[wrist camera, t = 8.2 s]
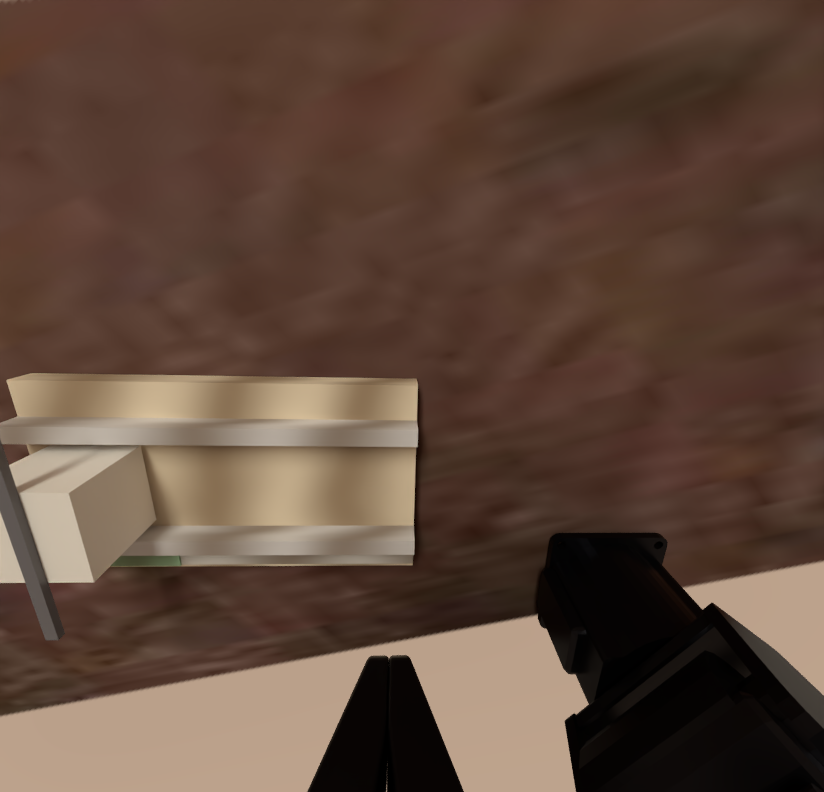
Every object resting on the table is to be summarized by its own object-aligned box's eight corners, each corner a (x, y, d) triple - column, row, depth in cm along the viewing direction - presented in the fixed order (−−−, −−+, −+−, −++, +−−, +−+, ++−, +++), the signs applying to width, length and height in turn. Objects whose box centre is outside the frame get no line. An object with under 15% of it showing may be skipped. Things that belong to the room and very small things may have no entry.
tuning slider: (129, 391, 17) (41, 429, 13) (165, 562, 19) (103, 639, 15) (34, 390, 17) (-85, 428, 12) (85, 563, 19) (0, 640, 15)
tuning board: (416, 378, 18) (419, 393, 16) (411, 549, 21) (413, 582, 19) (31, 373, 18) (-23, 387, 15) (83, 550, 21) (43, 584, 18)
